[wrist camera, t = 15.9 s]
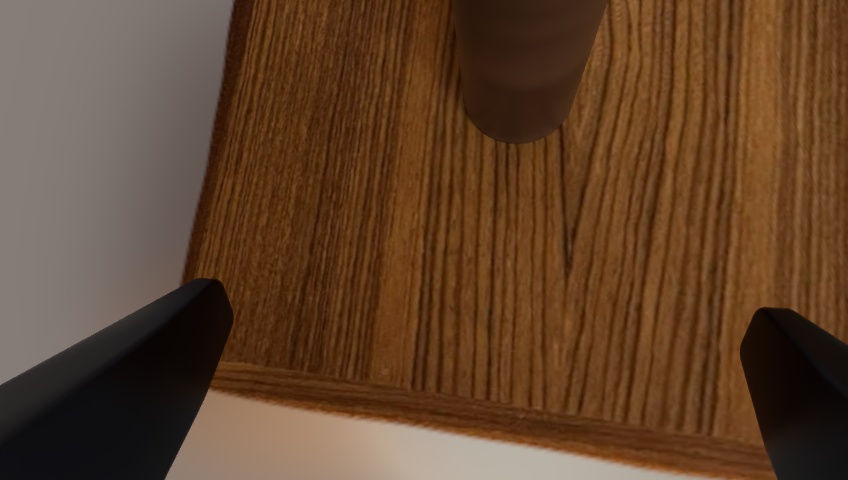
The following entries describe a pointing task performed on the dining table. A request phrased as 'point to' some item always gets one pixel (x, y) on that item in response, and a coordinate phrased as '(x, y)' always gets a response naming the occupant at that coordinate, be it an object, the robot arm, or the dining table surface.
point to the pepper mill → (523, 62)
